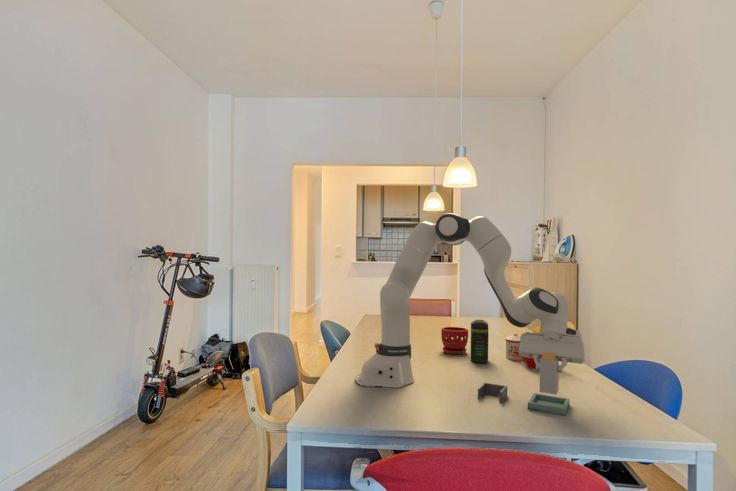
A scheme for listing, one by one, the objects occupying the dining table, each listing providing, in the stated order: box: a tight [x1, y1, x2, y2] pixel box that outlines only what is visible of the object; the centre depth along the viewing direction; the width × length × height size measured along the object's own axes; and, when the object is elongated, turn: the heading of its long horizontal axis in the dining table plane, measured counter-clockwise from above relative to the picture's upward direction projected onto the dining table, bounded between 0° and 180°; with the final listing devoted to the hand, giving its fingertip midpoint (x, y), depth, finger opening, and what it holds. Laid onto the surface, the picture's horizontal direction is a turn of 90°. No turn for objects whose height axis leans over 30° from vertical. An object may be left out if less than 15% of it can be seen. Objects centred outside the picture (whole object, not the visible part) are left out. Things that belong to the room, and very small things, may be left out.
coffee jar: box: [470, 319, 489, 364], centre depth 200 cm, size 10×8×19 cm
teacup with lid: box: [504, 332, 524, 361], centre depth 205 cm, size 12×9×12 cm
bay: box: [477, 382, 508, 404], centre depth 150 cm, size 8×8×4 cm
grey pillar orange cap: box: [539, 352, 560, 396], centre depth 141 cm, size 5×5×12 cm
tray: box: [527, 392, 570, 417], centre depth 141 cm, size 11×11×2 cm
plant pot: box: [440, 326, 469, 356], centre depth 216 cm, size 13×13×12 cm
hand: (548, 370), depth 141 cm, fingers closed on grey pillar orange cap, 5 cm apart
